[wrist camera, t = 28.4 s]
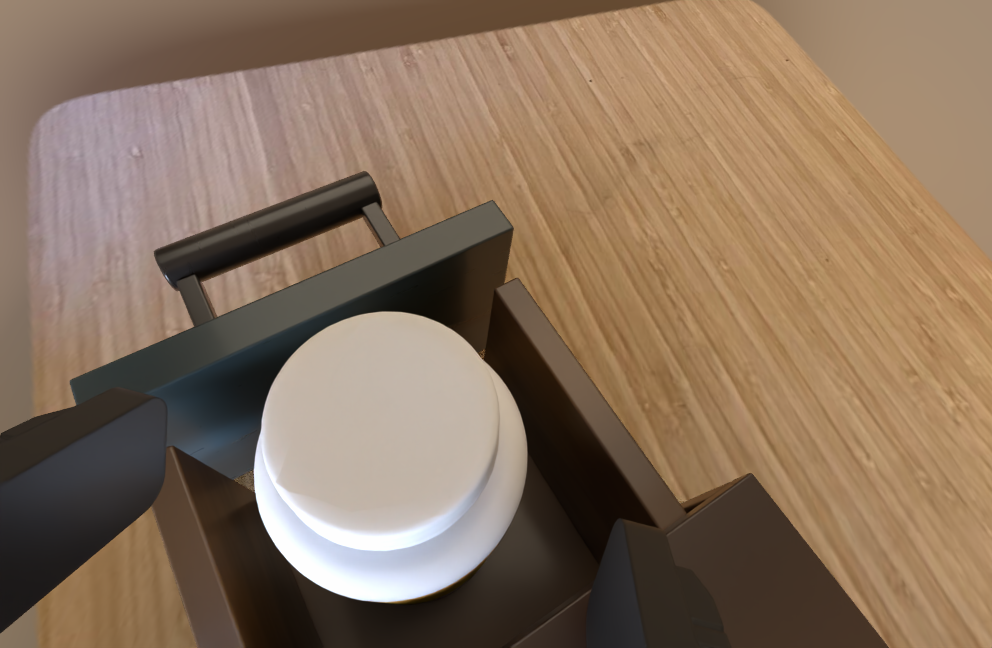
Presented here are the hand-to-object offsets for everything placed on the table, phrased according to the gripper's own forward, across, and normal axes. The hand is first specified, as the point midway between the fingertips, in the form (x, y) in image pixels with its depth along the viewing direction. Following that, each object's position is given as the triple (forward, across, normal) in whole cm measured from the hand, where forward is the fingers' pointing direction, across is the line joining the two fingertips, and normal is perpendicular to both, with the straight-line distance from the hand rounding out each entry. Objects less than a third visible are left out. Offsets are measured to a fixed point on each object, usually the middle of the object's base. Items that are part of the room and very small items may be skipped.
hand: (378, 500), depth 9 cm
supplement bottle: (+7, 0, +6) cm, 9 cm away
